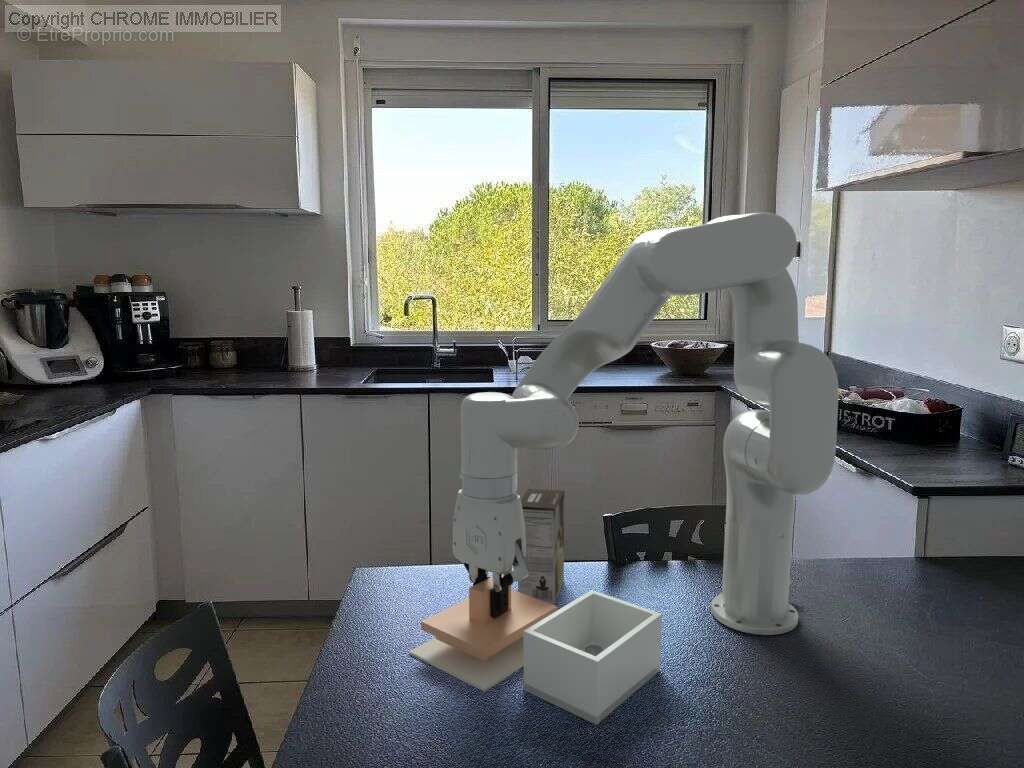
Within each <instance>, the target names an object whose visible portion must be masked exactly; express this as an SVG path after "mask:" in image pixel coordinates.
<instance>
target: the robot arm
mask: <svg viewBox="0 0 1024 768" xmlns="http://www.w3.org/2000/svg"><path fill="white" fill-rule="evenodd" d="M797 243H798V242H797V236H796V232H795V230H794V227H793V226H792V225H791V224H790V223H789V221H787V220H786V219H785V218H784V217H782V216H780V215H779V214H775V213H773V212H766V211H762V212H751V213H742V214H731V215H729V214H728V215H723V216H720V217H716V218H714V219H712V220H709V221H708V222H707V223H704V224H699V225H692V226H691V225H690V226H684V227H683V226H682V227H674V228H673V227H672V228H663V229H653V230H649V231H646V232H644V233H642V234H640V235H638V237H637V238H635V239H634V240H633V241H632V242H631V243H630V244H629V245H628V247H627V248H626V250H625V251H624V252H623V254H622V255H621V257H620V258H619V259H618V261H617V262H616V264H615V265H614V266H613V267H612V269H611V270H610V272H609V273H608V275H607V276H606V277H605V279H604V280H603V282H602V283H601V284H600V285H599V287H598V289H597V290H596V291H595V293H593V295H592V297H591V298H590V300H588V303H587V304H586V305H585V307H584V308H583V309H582V310H581V312H580V313H579V314H578V315H577V317H576V318H575V319H573V321H571V323H569V324H568V325H567V326H566V327H565V328H564V330H562V331H561V332H560V334H559V335H557V336H556V337H555V338H554V339H553V340H552V342H550V343H549V344H548V345H547V347H545V348H544V350H543V351H542V352H541V353H540V354H539V355H538V357H537V358H536V360H535V361H534V363H532V365H530V367H529V369H528V371H527V372H526V373H525V375H524V376H523V377H522V378H521V380H520V381H519V383H518V385H517V386H516V387H515V389H514V391H513V392H512V394H511V395H510V394H507V393H503V392H499V391H498V392H496V391H488V392H487V391H486V392H475V393H471V394H468V395H467V396H465V397H464V398H463V399H462V402H461V404H460V449H461V451H460V452H461V455H460V456H461V469H460V470H459V472H458V476H459V478H460V479H461V489H459V490H458V492H457V495H456V499H455V505H454V510H453V511H454V512H453V523H452V525H453V526H452V553H453V556H454V557H455V559H457V560H458V561H460V562H461V564H463V565H464V568H465V569H466V572H468V580H469V581H470V583H472V586H474V585H476V584H478V583H480V582H482V581H484V580H487V579H489V578H491V577H493V588H494V589H493V590H491V591H490V610H491V617H492V618H496V617H498V616H500V615H502V614H504V613H505V612H507V611H508V609H509V586H511V587H512V586H513V584H514V583H515V582H518V581H520V580H523V579H525V578H527V577H528V576H529V574H528V571H527V568H526V565H525V557H526V535H525V523H524V515H523V509H522V503H521V500H522V499H521V496H520V495H519V494H518V449H527V450H538V451H555V450H559V449H562V448H564V447H566V446H568V445H569V444H571V442H572V441H573V440H574V439H575V437H576V435H577V433H578V431H579V426H580V422H579V421H580V420H579V415H578V412H577V410H576V408H575V407H574V406H573V405H572V404H571V402H570V401H569V400H568V399H570V397H571V396H572V394H573V392H574V391H575V390H577V388H578V387H579V385H581V383H582V382H583V381H584V380H585V379H586V378H587V377H589V375H590V374H592V373H593V372H595V371H596V370H597V369H599V368H600V367H603V366H604V365H607V364H609V363H611V362H613V361H615V360H618V359H621V358H622V357H624V356H625V355H627V354H628V353H630V352H631V351H632V350H633V348H634V347H635V346H636V345H637V343H638V342H639V341H640V339H641V338H642V336H643V334H644V333H645V332H646V331H647V329H648V327H649V326H650V324H651V323H653V320H654V319H655V317H656V316H657V315H658V314H659V312H660V310H662V308H663V307H664V305H665V304H666V303H667V301H668V300H669V299H670V297H671V296H681V297H682V296H692V295H698V294H706V293H710V292H716V291H717V292H718V291H720V290H721V291H722V290H726V289H727V290H728V292H729V293H730V297H731V299H732V305H733V309H734V310H733V311H734V348H733V349H734V351H733V352H734V354H733V355H734V356H733V380H734V385H735V387H736V389H737V390H738V392H739V393H740V394H741V395H742V396H744V397H745V398H746V399H748V400H750V401H752V402H755V403H756V404H757V403H758V404H760V405H763V406H765V407H769V410H765V409H752V410H751V409H749V410H746V411H744V412H741V413H739V414H738V415H736V416H735V417H734V418H733V419H732V420H731V421H730V422H729V424H728V425H727V427H726V430H725V433H724V436H723V443H722V451H723V453H722V454H723V461H724V469H725V477H726V506H725V521H724V522H725V529H724V543H723V544H724V547H723V549H724V550H723V568H722V569H723V570H722V571H723V572H722V589H721V591H722V592H721V593H719V594H717V595H715V597H713V598H712V600H711V603H710V611H711V614H712V615H713V617H714V618H715V619H716V620H717V621H718V622H719V623H721V624H722V625H724V626H726V627H728V628H730V629H733V630H735V631H739V632H742V633H746V634H751V635H758V636H759V635H761V636H775V635H781V634H786V633H789V632H791V631H793V630H795V628H797V626H798V623H799V612H798V610H797V609H796V607H794V605H792V604H791V603H790V602H789V593H790V592H789V591H790V585H791V584H792V579H791V575H790V574H791V560H792V559H791V558H792V545H793V544H792V543H793V532H794V531H793V530H794V529H793V528H794V520H795V498H794V496H803V495H804V496H806V495H809V494H812V493H814V492H816V491H817V490H819V489H821V488H822V487H823V486H824V485H825V483H826V482H827V481H828V479H829V477H830V475H831V473H832V471H833V469H834V464H835V458H836V449H837V438H838V437H837V433H838V416H839V414H838V413H839V412H838V411H839V380H838V374H837V371H836V368H835V366H834V364H833V362H832V360H831V359H830V358H829V356H828V355H827V354H826V353H825V352H824V351H822V349H819V348H818V347H815V346H813V345H811V344H806V343H804V342H803V343H801V342H800V340H799V305H798V295H797V292H796V291H797V290H796V287H795V284H794V282H793V278H792V277H791V275H790V273H789V270H787V268H788V266H790V264H791V263H792V262H793V260H794V257H795V254H796V253H797ZM489 572H490V573H492V576H488V575H489ZM502 576H504V577H502Z"/></svg>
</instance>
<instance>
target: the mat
mask: <svg viewBox="0 0 1024 768" xmlns="http://www.w3.org/2000/svg"><path fill="white" fill-rule="evenodd" d="M408 652H409V655H410V656H412V657H415V658H416V659H419V660H420V661H422V662H424V663H426V664H428V665H431V666H432V667H434V668H437V669H438V670H440V671H442V672H445V673H447V674H448V675H450V676H452V677H454V678H456V679H458V680H460V681H462V682H464V683H465V684H468V685H470V686H471V687H474V688H476V689H478V690H480V691H482V692H483V693H485V692H487V691H488V690H490V689H491V688H492V687H494V686H496V685H497V684H499V683H500V682H502V681H503V680H505V679H506V678H508V677H509V676H511V675H512V674H514V673H515V672H516V671H519V670H520V669H522V668H524V637H522V638H520V639H519V640H517V641H515V642H514V643H512V644H510V645H509V646H507V647H505V648H504V649H502V650H500V651H499V652H497V653H496V654H494V655H492V656H491V657H489V658H487V659H486V660H484V661H482V660H480V659H477V658H475V657H473V656H471V655H469V654H467V653H465V652H462V651H460V650H458V649H456V648H454V647H452V646H450V645H447V644H445V643H443V642H441V641H439V640H437V639H436V636H434V637H433V638H432V639H430V640H428V641H426V642H424V643H422V644H420V645H419V646H416V647H415V648H412V649H410V650H409V651H408Z"/></svg>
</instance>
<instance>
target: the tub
mask: <svg viewBox="0 0 1024 768" xmlns="http://www.w3.org/2000/svg"><path fill="white" fill-rule="evenodd" d="M662 617H663V613H661V612H658V611H655V610H652V609H648V608H646V607H642V606H640V605H637V604H634V603H631V602H628V601H626V600H622V599H619V598H617V597H614V596H610V595H608V594H605V593H601V592H599V591H596V590H593V589H591V590H589V591H588V592H586V593H584V594H583V595H581V596H579V597H577V598H576V599H573V600H572V601H571V602H569V603H568V604H566V605H564V606H562V607H561V608H560V609H557V611H556V612H554V613H553V614H551V615H549V616H548V617H546V618H544V619H543V620H541V621H539V622H538V623H536V624H534V625H533V626H531V627H529V628H528V629H526V630H524V666H523V691H525V692H527V693H530V694H532V695H533V696H536V697H537V698H540V699H542V700H544V701H546V702H548V703H550V704H552V705H554V706H556V707H558V708H561V709H562V710H565V711H568V712H569V713H570V714H572V715H575V716H577V717H579V718H582V719H583V720H586V721H588V722H589V723H592V724H594V725H596V726H597V725H599V724H600V723H601V722H602V721H603V720H604V719H605V718H607V717H608V716H609V715H610V714H612V713H613V711H615V710H616V709H617V708H618V707H619V706H621V704H623V703H624V702H626V700H627V699H628V698H630V697H631V696H632V695H634V693H636V692H637V691H638V690H639V689H640V688H641V687H643V686H644V685H645V684H646V683H647V682H649V681H650V680H651V679H652V678H653V677H654V676H656V675H657V674H658V673H659V672H660V671H661V652H662V651H661V650H662V626H663V625H662V619H663V618H662Z"/></svg>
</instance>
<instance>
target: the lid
mask: <svg viewBox="0 0 1024 768" xmlns="http://www.w3.org/2000/svg"><path fill="white" fill-rule="evenodd" d="M490 577H491V578H489V579H487V580H484V581H482V582H480V583H478V584H476V585H474V586H473V585H472V586H470V587H469V588H468V597H467V598H465V599H463V600H461V601H459V602H457V603H455V604H453V605H451V606H449V607H446V608H445V609H443V610H441V611H439V612H437V613H434V614H433V615H431V616H429V617H427V618H424V619H423V620H421V621H420V630H421V631H424V632H426V633H428V634H430V635H433V636H434V637H436V639H437V640H439V641H441V642H443V643H445V644H447V645H450V646H452V647H454V648H456V649H458V650H460V651H462V652H465V653H467V654H469V655H471V656H473V657H475V658H477V659H480V660H482V661H484V660H486V659H487V658H489V657H491V656H492V655H494V654H496V653H497V652H499V651H500V650H502V649H504V648H505V647H507V646H509V645H510V644H512V643H514V642H515V641H517V640H519V639H520V638H522V637H524V630H526V629H528V628H529V627H531V626H533V625H534V624H536V623H538V622H539V621H541V620H543V619H544V618H546V617H548V616H549V615H551V614H553V613H554V612H556V611H558V606H557V605H556V604H549V603H547V602H544V601H541V600H539V599H536V598H533V597H531V596H528V595H525V594H523V593H520V592H518V590H517V591H516V590H514V589H512V585H511V586H509V609H508V611H507V612H505V613H504V614H502V615H500V616H498V617H496V618H492V617H491V610H490V591H491V590H493V589H494V588H493V576H490ZM502 577H504V575H502Z"/></svg>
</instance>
